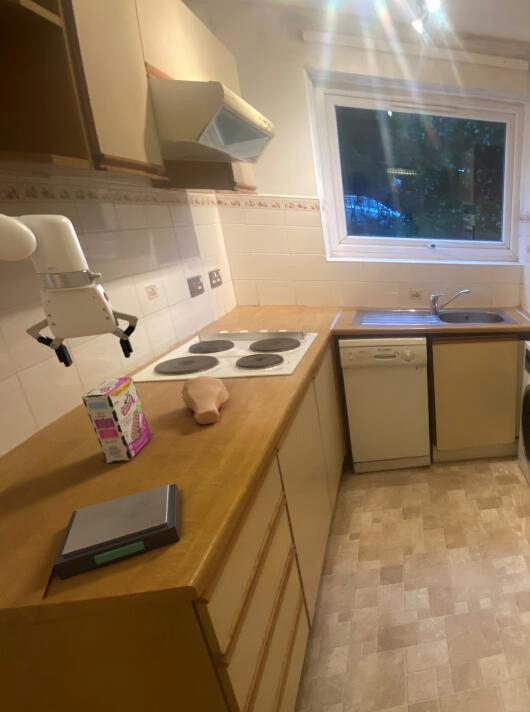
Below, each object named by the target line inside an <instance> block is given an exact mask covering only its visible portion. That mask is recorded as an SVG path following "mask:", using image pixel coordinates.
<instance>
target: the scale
mask: <svg viewBox="0 0 530 712" xmlns="http://www.w3.org/2000/svg"><path fill="white" fill-rule="evenodd" d="M168 485H169V487H170V489H169V509H168V525H167V526H164V527H161V528H158V529H155V530H151V531H148V532H145V533H142V534H139V535H135V536H132V537H129V538H126V539H123V540H120V541H116V542H113V543H110V544H107V545H104V546H100V547H97V548H94V549H91V550H88V551H84V552H81V553H78V554H75V555H72V556H68V557H65V558H64V557H63V555H62V553H63V550H64V547H65V544H66V541H67V538H68V535H69V533H70V530H71V527H72V524H73V521H74V518H75V515H76V512H77V510H75V511H74V510H73V511H72V513H71V515H70V519H69V521H68V524H67V526H66V529H65V532H64V535H63V537H62V541H61V543H60V546H59V549H58V552H57V554H56V556H55V559H54V563H53V567H54V569H55V571H56V573H57V575H58V576H59V579H60V580H64V579H68V578H70V577H74V576H76V575H80V574H83V573H86V572H89V571H91V570H95V569H98V568H101V567H103V566H107V565H110V564H113V563H116V562H119V561H121V560H125V559H128V558H131V557H134V556H138V555H140V554H143V553H146V552H150V551H152V550H155V549H158V548H161V547H164V546H168V545H170V544H173V543H176V542H179V541H181V493H180V490H179V488H178V485H177V483H174V484H168Z"/></svg>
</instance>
